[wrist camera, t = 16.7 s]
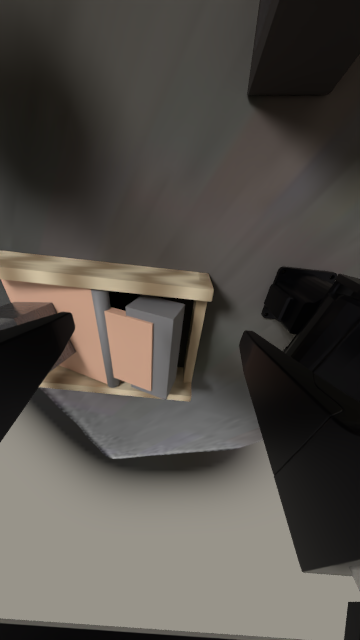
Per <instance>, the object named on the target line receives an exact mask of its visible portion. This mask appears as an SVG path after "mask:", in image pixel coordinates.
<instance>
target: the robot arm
mask: <svg viewBox="0 0 360 640" xmlns="http://www.w3.org/2000/svg"><path fill="white" fill-rule="evenodd" d="M283 270H285V272H284V273H282V271H283ZM331 276H332V277H331ZM330 277H331V278H330ZM335 280H336V281H335ZM334 281H335V282H334ZM333 283H334V284H333ZM264 304H265V305H264V308H263V310H262V313H261V314H262V316H263V317H264V318H271V319H277V320H278V321H279V322H281V323H282V324H283V325H284V326H285V327H286V329H287V330H288V331H289V332H290V333H291V334H296V336H295V337H294V339H293V340H292V341H291V343H290V344H289V345H288V347H286V348H285V349H284V352H283V351H281V350H280V349H278V348H277V347H275V346H274V345H272V344H271V343H269V342H268V341H266V340H265V339H264V338H262V337H261V336H259V335H258V334H256V333H255V332H253V331H247V330H246V331H244V332H243V335H242V338H241V341H240V345H239V347H240V353H241V359H242V365H243V371H244V375H245V379H246V382H247V385H248V389H249V392H250V396H251V399H252V403H253V406H254V409H255V413H256V416H257V420H258V423H259V427H260V430H261V433H262V437H263V440H264V444H265V447H266V451H267V454H268V457H269V461H270V464H271V468H272V471H273V474H274V478H275V482H276V485H277V488H278V492H279V495H280V499H281V502H282V506H283V509H284V512H285V516H286V519H287V523H288V526H289V530H290V533H291V537H292V540H293V544H294V547H295V550H296V554H297V557H298V561H299V564H300V567H301V569H302V572H304V573H317V574H329V575H330V574H331V575H342V576H353V577H354V580H355V582H356V584H357V586H358V589H359V591H360V279H358V278H354V277H350V276H346V275H343V274H338V276H337V274H336V273H334V272H328V271H319V270H310V269H301V268H292V267H281V268H280V269H279V270H278V272H277V275H276V277H275V280H274V282H273V284H272V285H271V287H270V289H269V292H268V294H267V297H266V299H265V302H264ZM265 313H267V314H266V315H265ZM74 331H75V323H74V319H73V315H72V313H70V312H59V313H56V314H53V315H49V316H46V317H43V318H39V319H36V320H33V321H29V322H26V323H23V324H19V325H16V326H13V327H9V328H6V329H3V330H0V442H1V440H2V439H3V438H4V436H5V435H6V433H7V432H8V431H9V429H10V428H11V426H12V425H13V423H14V422H15V421H16V419H17V418H18V416H19V415H20V413H21V412H22V410H23V409H24V408H25V406H26V405H27V403H28V402H29V400H30V399H31V398H32V396H33V395H34V393H35V392H36V390H37V389H38V388H39V386H40V385H41V383H42V382H43V380H44V379H45V377H46V376H47V375H48V373H49V372H50V370H51V369H52V367H53V366H54V365H55V363H56V362H57V360H58V359H59V357H60V356H61V354H62V353H63V351H64V349H65V347H66V345H67V344H68V342H69V340H70V338H71V336H72V334H73V333H74ZM0 640H299V639H286V638H285V639H284V638H271V637H256V636H243V635H228V634H214V633H200V632H185V631H171V630H157V629H142V628H127V627H114V626H100V625H99V626H98V625H85V624H71V623H57V622H43V621H27V620H13V619H0ZM344 640H360V602H348V609H347V618H346V627H345V637H344Z"/></svg>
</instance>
